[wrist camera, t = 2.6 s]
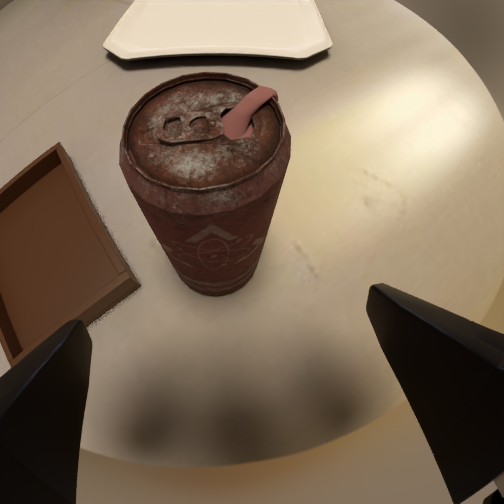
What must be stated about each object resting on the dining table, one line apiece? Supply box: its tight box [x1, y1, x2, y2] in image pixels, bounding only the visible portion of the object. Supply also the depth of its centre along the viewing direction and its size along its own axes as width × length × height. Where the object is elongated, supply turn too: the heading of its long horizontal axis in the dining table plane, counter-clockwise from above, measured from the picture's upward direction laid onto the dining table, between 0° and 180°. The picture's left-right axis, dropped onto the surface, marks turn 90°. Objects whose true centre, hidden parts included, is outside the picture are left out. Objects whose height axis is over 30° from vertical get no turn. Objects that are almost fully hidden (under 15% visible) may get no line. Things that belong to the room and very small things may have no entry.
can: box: [119, 72, 291, 296], centre depth 16 cm, size 6×6×14 cm
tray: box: [0, 142, 140, 368], centre depth 20 cm, size 15×12×3 cm
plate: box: [103, 0, 333, 61], centre depth 33 cm, size 29×29×2 cm
